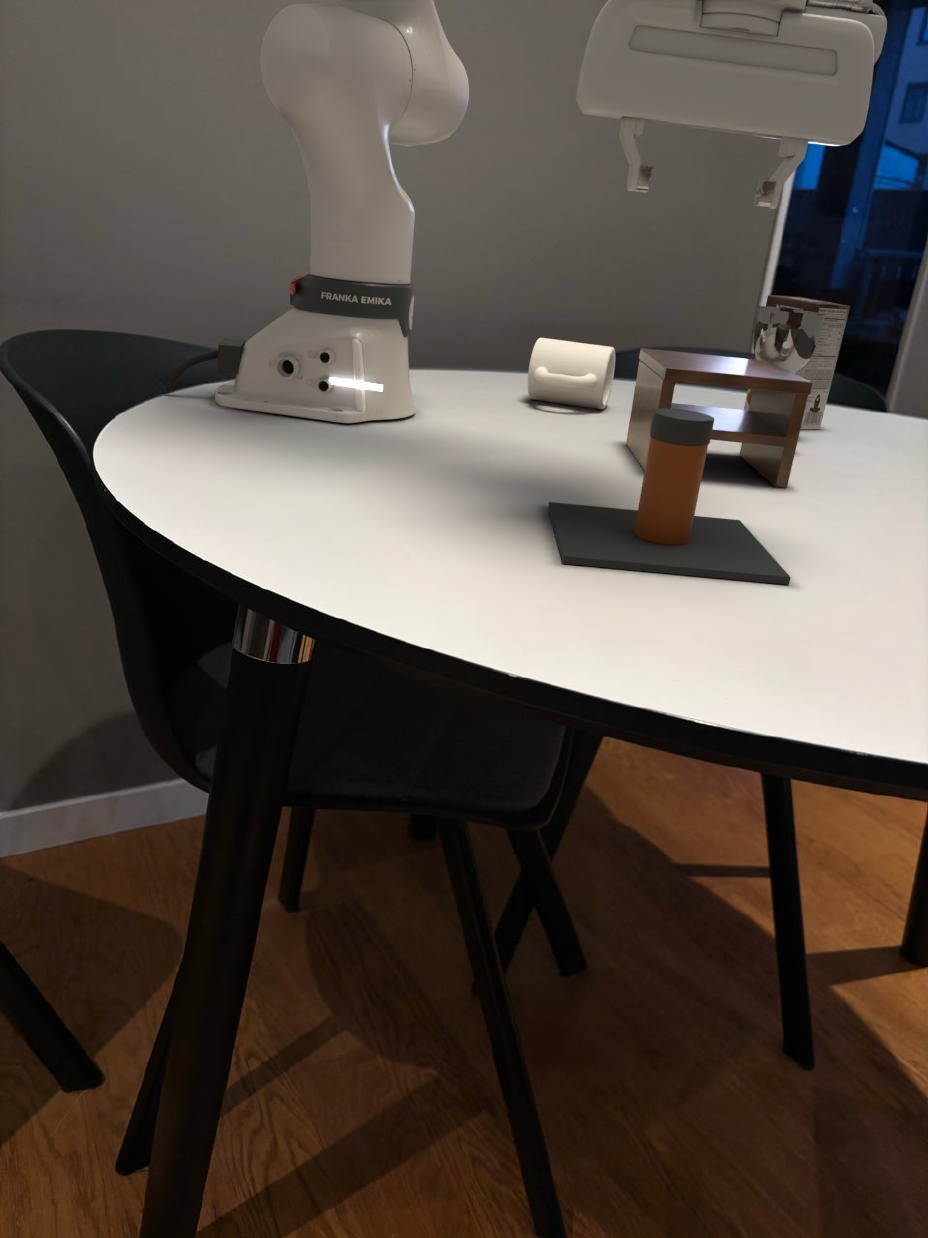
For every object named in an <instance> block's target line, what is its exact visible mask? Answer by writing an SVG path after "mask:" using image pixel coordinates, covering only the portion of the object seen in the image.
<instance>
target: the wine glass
mask: <svg viewBox="0 0 928 1238" xmlns="http://www.w3.org/2000/svg"><path fill="white" fill-rule="evenodd" d="M824 321H825V314H822V313H817V312H811V311H804V310H796V309H788V308H779V307H766V305H765V306H764V305H760V306H759V305H758V306H757V310H756V314H755V319H754V327H753V340H752V343H753V354H754V358H755V357H756V359H757V360H764V361H769V362H771V363H773V364H775V365H777V366H779V367H781V368H784V369H786V370H788V371H790V372H792V373H794V374H795V373H797V372H798V371H799V370H800V369H801V368H803V367H804V366H805V365H806V364H807V363H808V362H809V360H810V359H811V357H812V355H813V353H814V351H815V349H816V347H817V344H818V342H819V339H820V336H821V333H822V329H823V325H824Z"/></svg>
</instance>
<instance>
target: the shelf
mask: <svg viewBox="0 0 928 1238" xmlns="http://www.w3.org/2000/svg"><path fill="white" fill-rule="evenodd" d="M754 359H755V358H753V359H752V358H742V357H733V356H724V355H714V354H704V353H693V352H686V351H685V352H684V351H675V350H674V351H673V350H664V349H655V348H654V349H653V348H644V347H641V348H640V349H639V355H638V368H637V374H636V379H635V386H634V391H633V392H634V393H633V398H632V404H631V411H630V417H629V422H628V429H627V434H626V435H627V436H626V441H625V444H626V446H627V447H628V449H629V451H630V453H632V455H633V456H634V458H635V459H636V461H637V462H638V464H639V465H640V466H641V468H642V469H643V471H645V465H646V460H647V454H648V448H649V442H650V435H649V434H650V428H651V422H652V416H653V411H654V410H655V409H662V408H669V409H681V410H689V411H694V412H699V413H703V414H707V415H709V416H712V417H713V418H714V424H713V429H712V434H711V440H712V441H721V442H730V443H731V442H732V443H740V444H741V445H740V449H739V456H740V457H741V458H742V459H743V460H744V461H745V462H746V463H747V464H749V465H750V466H751V467H753V469H755V470H756V471H757V472H758V473H759V474H760V475H761V476H763V477H764V478H765V479H766V480H767V481H768V482H769V483H771V485H773V487H775V488H781V489H784V488H785V489H787V488H788V485H789V480H790V477H791V472H792V467H793V464H794V460H795V455H796V450H797V445H798V442H799V437H800V433H801V430H800V429H801V424H802V420H803V415H804V411H805V407H806V402H807V398H808V395H810V393H811V388H812V384H813V382H811V381H809V380H806V379H804V378H802V377H800V376H798V375H796V374H794V373H792V372H790V371H788V370H786V369H784V368H781V367H779V366H777V365H775V364H773V363H771V362H769V361H764V360H754ZM676 383H687V384H695V385H705V386H717V387H725V388H737V389H746V390H748V389H753V391H752V396H751V401H750V406H749V411H747V410H744V409H737V408H736V409H735V408H725V407H715V406H708V405H707V406H705V405H696V404H686V403H677V402H673V398H674V392H675V388H676V387H675V386H676ZM711 440H710V441H711Z"/></svg>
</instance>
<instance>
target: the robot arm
mask: <svg viewBox="0 0 928 1238" xmlns="http://www.w3.org/2000/svg"><path fill="white" fill-rule="evenodd" d="M336 2H337V4H335V3H314V2H313V3H295V4H294V3H293V4H290V5H287V6H286V7H284V8H282V9H280V11H279V12H278V13H277V14H276V15H275V16H274V17H273V18H272V20H271V22H270V23H269V25H268V27H267V29H266V30H265V33H264V35H263V39H262V42H261V48H260V54H259V55H260V56H259V69H260V75H261V81H262V84H263V87H264V91H265V93H266V96H267V97H268V100H269V101H270V103H271V104H272V105H273V107H274V108H275V109H276V111H278V112H279V114H280V115H281V117H282V118H283V120H284V121H285V122H286V124H287V127H288V128H289V129H290V132H291V134H292V136H293V138H294V141H295V143H296V146H297V150H298V152H299V155H300V158H301V159H300V160H301V162H302V165H303V169H304V174H305V177H306V184H307V188H308V196H309V197H308V198H309V207H310V208H309V209H310V210H309V211H310V214H309V215H310V217H309V219H310V221H309V222H310V223H309V224H310V225H309V226H310V229H309V230H310V232H309V233H310V234H309V235H310V236H309V238H310V239H309V240H310V241H309V242H310V243H309V273H307V274H299V275H297V276H295V277H294V278H292V280H291V282H290V284H289V305H291V306H292V308H290V309H289V310H287V311H286V312H284V313H283V314H281V315H280V316H279V317H277V318H276V319H275V320H273V321H272V322H270V323H269V324H267V325H266V326H264V328H262V329H261V330H259V331H258V332H256V333H255V334H254V335H253V336H252V337H250V338H249V339H248V340H244V339H237V338H223V339H222V340H221V341H220V342H219V344H218V345H217V350H213V351H210V352H206V353H202V354H199V355H198V354H197V355H195V356H193V357H191V358H189V359H187V360H185V361H184V362H182V363H181V364H180V365H178V367H177V368H176V369H175V370H174V371H173V373H172V375H171V376H170V377H169V380H168V382H167V383H166V385H165V386H164V389H166V390H167V391H168V392H170V393H171V392H172V391H173V390H174V388H175V387H176V384H177V383H178V381H179V380H180V378H181V377H182V375H183V374H184V373H185V372H186V371H187V370H189V369H190V368H191V367H193V366H195V365H197V364H200V363H204V362H208V361H212V360H215V359H217V368H218V369H217V372H218V373H220V374H229V375H230V374H231V375H235V379H234V380H231V381H229V382H226V383H223V384H221V385H220V386H218V387H217V388H216V390H215V392H214V394H215V395H214V401H215V403H216V404H218V405H219V406H222V407H227V408H233V409H241V410H247V411H253V412H254V411H255V412H262V413H270V414H276V415H283V416H290V417H298V418H306V419H312V420H319V421H327V422H333V423H334V422H335V423H340V424H341V423H342V424H355V423H356V424H357V423H361V422H367V421H383V420H384V421H386V420H397V419H403V418H407V417H411V416H413V415H414V414H416V408H415V403H414V398H413V391H412V384H411V377H410V363H409V362H410V360H409V359H410V358H409V337H410V335H411V331H412V330H413V323H414V322H413V320H414V307H415V295H414V294H415V293H414V291H415V289H414V285H413V284H412V283H411V279H412V266H413V265H412V263H413V250H414V249H413V248H414V238H415V237H414V236H415V223H416V211H415V207H414V204H413V202H412V199H411V198H410V197H409V195H408V194H407V193H406V191H405V190H404V189H403V187H402V186H401V184H400V182H399V180H398V177H397V175H396V172H395V169H394V165H393V160H392V155H391V149H390V144H391V145H395V146H396V145H397V146H402V147H416V146H417V147H418V146H424V145H431V144H435V143H439V142H442V141H445V140H446V139H448V138H449V137H451V136H452V135H453V134H454V133H455V132H456V131H457V129H458V128H459V127H460V125H461V124H462V122H463V119H464V118H465V116H466V113H467V109H468V106H469V100H470V84H469V77H468V74H467V71H466V68H465V66H464V64H463V62H462V60H461V59H460V58H459V56H458V54H457V53H456V52H455V51H454V49H453V47H452V45H451V44H450V42H449V40H448V38H447V36H446V34H445V31H444V29H443V25H442V23H441V21H440V17H439V13H438V11H437V8H436V4H435V2H434V0H336ZM870 11H872V12H873V13H875V14H871V13H869V12H870ZM596 16H597V17H596V18H595V21H594V23H593V24H592V27H591V30H590V32H589V36H588V39H587V42H586V46H585V49H584V53H583V56H582V61H581V65H580V70H579V74H578V79H577V85H576V91H575V102H576V104H577V107H578V108H579V110H580V111H581V113H582V114H584V115H586V116H593V117H601V118H606V119H607V118H608V119H609V118H610V119H615V120H621V121H620V127H619V135H618V139H619V141H620V144H621V147H622V150H623V154H624V156H625V158H626V161H627V165H629V168H628V174H627V179H626V188H625V189H626V191H627V192H634V193H645V194H648V193H649V192H650V188H651V181H650V179H651V178H652V176H653V172H654V171H653V170H654V165H648V164H643V162H642V158H641V155H640V152H639V149H638V146H637V142H636V139H639V138H641V137H642V136H643V134H644V128H645V123H648V124H656V125H664V126H672V127H679V128H687V129H696V130H702V131H712V132H718V133H719V132H720V133H727V134H736V135H743V136H752V137H758V138H767V139H773V140H774V139H775V140H780V144H779V149H778V152H777V153H778V154H777V155H778V157H780V158H784V160H783V161H782V162H781V163H780V165H779V166H778V167H777V168H776V170H775V171H774V172H773V174H772V175H771V176H770V178H769V179H768V180H767V179H761V180H760V179H758V180H756V183H755V184H756V185H755V189H754V191H755V194H754V196H753V199H752V207H757V208H762V209H769V210H770V209H771V210H776V209H777V208H778V206H779V203H780V199H781V196H782V195H781V194H782V190H783V186H784V183H786V182H787V181H788V179H789V178H790V177H791V176H792V175H793V173H794V172H795V171H796V170H797V168H798V167H799V166H800V165H801V163H802V162H803V161H804V160H805V159H806V155H807V150H808V147H809V146H808V145H809V144H812V145H813V144H814V145H820V146H821V145H822V146H830V147H841V146H846V145H850V144H851V143H852V142H853V141H854V140H856V139H857V138H858V137H859V136H860V135H861V134H862V132H863V131H864V128H865V126H866V121H867V116H868V111H869V107H870V100H871V94H872V93H871V92H872V87H873V86H872V85H873V77H874V76H873V75H874V66H875V64H876V63H877V61H878V60H879V58H880V56H881V54H882V50H883V46H884V42H885V39H886V34H887V29H888V20H887V17H886V14H885V12H884V10H883V9H882V8H881V7H880V6H879V5H878V4H876V3H875V2H873V0H607V1H606V2H605V4H604V5H603V7H602V8H601V10H600V11H599V12H598V14H597V15H596Z"/></svg>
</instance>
